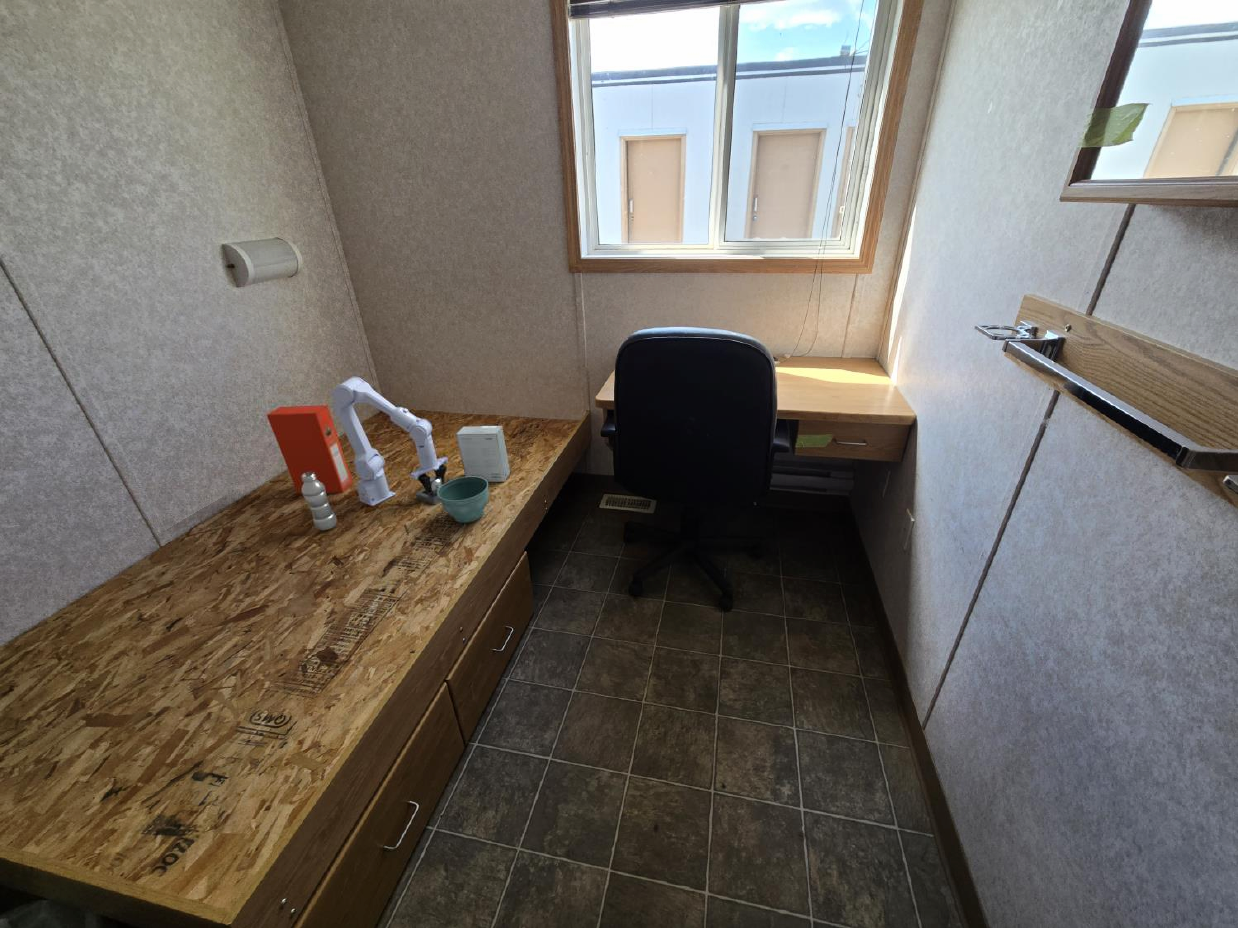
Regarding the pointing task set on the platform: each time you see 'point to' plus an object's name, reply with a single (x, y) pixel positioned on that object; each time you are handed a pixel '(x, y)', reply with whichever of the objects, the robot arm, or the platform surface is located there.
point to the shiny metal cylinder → (435, 485)
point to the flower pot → (464, 498)
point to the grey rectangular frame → (427, 497)
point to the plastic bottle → (318, 502)
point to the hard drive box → (484, 452)
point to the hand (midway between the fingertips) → (435, 488)
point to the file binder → (311, 446)
